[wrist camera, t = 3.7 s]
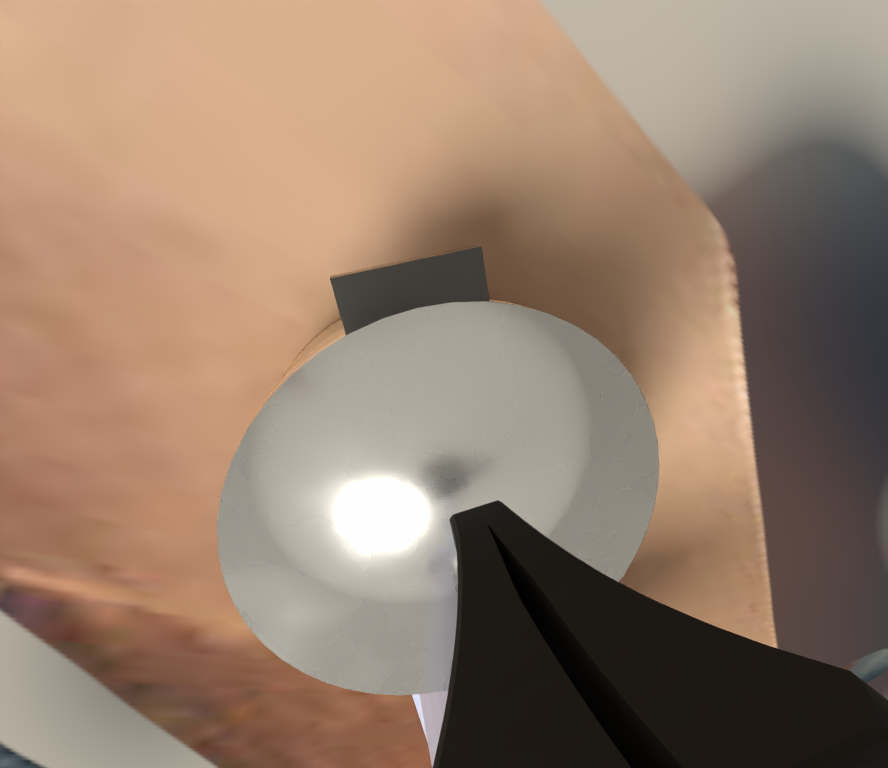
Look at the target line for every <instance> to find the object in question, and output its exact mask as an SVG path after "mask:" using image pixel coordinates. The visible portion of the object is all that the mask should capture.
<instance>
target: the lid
mask: <svg viewBox="0 0 888 768" xmlns="http://www.w3.org/2000/svg"><path fill="white" fill-rule="evenodd" d="M330 280H331V284H332V287H333V291H334V294H335V298H336V302H337V305H338V309H339V312H340V316H341V319H342V323H343V326H344V331H342V332H341V333H339V334H337V335H336V336H334V337H333V338H331V339H329V340H328V341H326V342H325V343H323V344H321V345H320V346H319V347H317V348H316V349H315V350H314V351H313V352H311V353H310V354H309V355H308V356H306V357H305V358H304V359H303V360H302V361H300V362H299V363H298V364H297V365H296V366H294V367H293V368H292V370H291V371H290V372H289V373H288V374H287V375H286V376H285V377H284V378H283V379H282V380H281V381H280V383H279V384H278V385H277V386H276V387H275V388H274V389H273V390H272V391H271V393H270V394H269V396H268V397H267V398H266V400H265V401H264V403H263V404H262V406H261V407H260V409H259V410H258V411H257V413H256V414H255V416H254V417H253V419H252V421H251V423H250V425H249V427H248V429H247V431H246V433H245V435H244V437H243V439H242V441H241V443H240V445H239V447H238V449H237V451H236V453H235V455H234V457H233V459H232V461H231V464H230V467H229V470H228V473H227V477H226V480H225V483H224V486H223V489H222V493H221V500H220V507H219V514H218V521H217V531H218V553H219V558H220V563H221V568H222V573H223V578H224V581H225V583H226V586H227V588H228V591H229V593H230V596H231V598H232V601H233V603H234V605H235V606H236V608H237V610H238V611H239V613H240V615H241V616H242V618H243V619H244V621H245V623H246V624H247V626H248V627H249V628H250V629H251V630H252V631H253V633H254V634H255V635H256V636H257V637H258V638H259V639H260V641H261V642H262V643H263V644H264V645H265V646H266V647H268V648H269V649H270V650H271V651H272V652H274V653H275V654H276V655H277V656H278V657H280V658H281V659H282V660H283V661H285V662H287V663H288V664H290V665H292V666H293V667H295V668H297V669H298V670H300V671H301V672H303V673H305V674H307V675H310V676H312V677H314V678H317V679H319V680H321V681H323V682H326V683H329V684H332V685H336V686H339V687H343V688H346V689H349V690H355V691H361V692H367V693H373V694H387V695H414V694H428V693H434V692H441V691H448V688H449V682H450V675H451V668H452V661H453V653H454V644H455V634H456V621H457V600H458V568H457V552H456V547H455V543H454V539H453V534H452V530H451V525H450V521H449V519H450V518H451V516H452V515H453V514H456V513H459V512H462V511H465V510H469V509H472V508H475V507H478V506H481V505H484V504H487V503H491V502H494V501H497V500H499V501H500V502H502V503H504V504H505V505H506V506H507V507H508V508H510V509H511V510H512V511H513V512H514V513H516V514H517V515H518V516H519V517H521V518H522V519H523V520H525V521H526V522H527V523H528V524H530V525H531V526H532V527H534V528H535V529H536V530H538V531H539V532H540V533H542V534H543V535H545V536H546V537H547V538H549V539H550V540H552V541H553V542H555V543H556V544H557V545H559V546H560V547H562V548H563V549H565V550H566V551H568V552H569V553H571V554H572V555H574V556H575V557H577V558H578V559H580V560H582V561H583V562H585V563H587V564H588V565H590V566H591V567H593V568H595V569H596V570H598V571H600V572H601V573H603V574H605V575H607V576H608V577H610V578H612V579H614V580H616V581H617V582H619V581H620V580H621V578H622V577H623V575H624V574H625V573H626V571H627V569H628V567H629V566H630V564H631V562H632V560H633V559H634V557H635V555H636V554H637V552H638V549H639V547H640V545H641V543H642V540H643V538H644V536H645V534H646V531H647V528H648V525H649V522H650V519H651V516H652V512H653V509H654V504H655V499H656V494H657V488H658V475H659V454H658V441H657V436H656V432H655V427H654V423H653V418H652V416H651V413H650V410H649V408H648V405H647V403H646V400H645V397H644V396H643V394H642V392H641V390H640V389H639V387H638V385H637V383H636V382H635V380H634V378H633V376H632V375H631V374H630V373H629V371H628V370H627V369H626V368H625V366H624V365H623V364H622V363H621V361H620V360H619V359H618V358H617V357H616V356H615V355H614V354H613V353H612V352H611V351H610V350H609V349H607V348H606V347H605V346H604V345H603V344H602V343H601V342H600V341H598V340H597V339H596V338H594V337H593V336H591V335H589V334H588V333H586V332H585V331H583V330H582V329H580V328H578V327H577V326H575V325H573V324H571V323H569V322H567V321H564V320H562V319H560V318H557V317H555V316H553V315H551V314H548V313H545V312H542V311H539V310H536V309H532V308H529V307H525V306H521V305H518V304H514V303H510V302H506V301H499V300H490V299H489V295H488V289H487V282H486V275H485V268H484V262H483V255H482V248H481V246H472V247H467V248H462V249H457V250H453V251H448V252H443V253H439V254H434V255H429V256H424V257H420V258H415V259H410V260H405V261H401V262H396V263H391V264H387V265H382V266H377V267H372V268H368V269H363V270H358V271H354V272H349V273H344V274H339V275H335V276H331V277H330Z"/></svg>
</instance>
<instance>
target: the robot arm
mask: <svg viewBox="0 0 888 768" xmlns="http://www.w3.org/2000/svg"><path fill="white" fill-rule="evenodd" d="M449 521H450V525H451V530H452V534H453V539H454V543H455V547H456V552H457V568H458V600H457V621H456V634H455V644H454V653H453V661H452V668H451V675H450V682H449V688H448V691H441V692H434V693H428V694H414V695H412V696H413V699H414V702H415V705H416V708H417V711H418V714H419V717H420V720H421V723H422V726H423V730H424V733H425V736H426V739H427V742H428V746H429V752H430V757H431V763H432V768H888V700H887V699H886V698H885V697H883V696H882V695H881V694H879V693H878V692H877V691H876V690H874V689H873V688H872V687H870V686H869V685H867V684H866V683H865V682H864V681H863V680H861V679H860V678H859V677H857V676H856V675H855V674H853V673H852V672H851V671H848V670H845V669H842V668H838V667H835V666H832V665H829V664H825V663H822V662H819V661H816V660H812V659H809V658H806V657H803V656H799V655H796V654H793V653H790V652H786V651H783V650H780V649H777V648H773V647H770V646H767V645H765V644H762V643H759V642H756V641H753V640H751V639H748V638H745V637H742V636H740V635H737V634H734V633H731V632H729V631H726V630H723V629H720V628H718V627H715V626H713V625H710V624H708V623H705V622H703V621H701V620H698V619H696V618H694V617H691V616H689V615H687V614H684V613H682V612H680V611H677V610H675V609H673V608H670V607H668V606H666V605H663V604H661V603H659V602H657V601H655V600H653V599H651V598H648V597H646V596H644V595H642V594H640V593H638V592H636V591H634V590H633V589H631V588H629V587H627V586H625V585H623V584H621V583H619V582H617V581H616V580H614V579H612V578H610V577H608V576H607V575H605V574H603V573H601V572H600V571H598V570H596V569H595V568H593V567H591V566H590V565H588V564H587V563H585V562H583V561H582V560H580V559H578V558H577V557H575V556H574V555H572V554H571V553H569V552H568V551H566V550H565V549H563V548H562V547H560V546H559V545H557V544H556V543H555V542H553V541H552V540H550V539H549V538H547V537H546V536H545V535H543V534H542V533H540V532H539V531H538V530H536V529H535V528H534V527H532V526H531V525H530V524H528V523H527V522H526V521H525V520H523V519H522V518H521V517H519V516H518V515H517V514H516V513H514V512H513V511H512V510H511V509H510V508H508V507H507V506H506V505H505V504H504V503H502V502H500V501H499V500H497V501H494V502H491V503H487V504H484V505H481V506H478V507H475V508H472V509H469V510H465V511H462V512H459V513H456V514H453V515H452V516H451V518H450V519H449Z"/></svg>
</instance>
